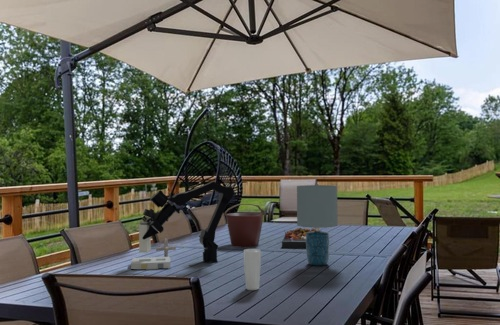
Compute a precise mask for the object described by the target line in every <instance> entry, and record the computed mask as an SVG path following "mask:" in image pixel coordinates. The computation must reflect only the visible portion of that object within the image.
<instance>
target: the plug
mask: <svg viewBox="0 0 500 325" xmlns="http://www.w3.org/2000/svg"><path fill="white" fill-rule="evenodd" d="M150 225H151V224H150ZM138 226H139V227H138V234H139V235H138V244H139V245H138V246H139V247H138V252H139V253H149V252H152V251H151V250H152V249H151V248H152V247H151V246H152V244H151V241H152V238H151V237H152V236H151V237H148V238H146V239H143V236H144V235H145V233H146V232H147V230H148V229H149V222H147V221H142V222H140V224H139V225H138Z"/></svg>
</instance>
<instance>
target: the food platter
mask: <svg viewBox="0 0 500 325" xmlns="http://www.w3.org/2000/svg"><path fill="white" fill-rule="evenodd" d="M311 231H315V228H311V230H310V228H306V227H298V228H295V229H293V230H292V229H291V230H288V231H284V237H283V239H282V241H281V248H282V249H306V233H307V232H311Z"/></svg>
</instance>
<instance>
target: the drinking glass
mask: <svg viewBox="0 0 500 325" xmlns="http://www.w3.org/2000/svg"><path fill="white" fill-rule="evenodd" d="M242 258H243V270H244V280H245V281H244V282H245V290H247V291H258V290H259V289H260V278H261V277H260V276H261V264H262V251H261V249H259V248H246V249H243V257H242Z"/></svg>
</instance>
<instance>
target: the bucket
mask: <svg viewBox="0 0 500 325" xmlns="http://www.w3.org/2000/svg"><path fill="white" fill-rule="evenodd" d="M239 206H254V207H257V208H258V210H259V211H260V213H259V212H231V213H228V212H229V211H230V210H232V209H233V208H236V207H239ZM265 213H266V211H265V210H264V209H263V208H261V206H260V205H259V204H253V203H238V204H235V205H232V206H231V207H229V208H227V210H225V211H224V212H223V214H224V216H225V217H226V218H225V219H226V224H227V229H228V234H229V239H230V240H229V241H230V245H231V246H232V247H237V248H248V247H250V248H251V247H256V246H258V245H259V243H260V238H261V231H262V229H263V228H262V227H263V226H262V225H263V222H264V214H265Z"/></svg>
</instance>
